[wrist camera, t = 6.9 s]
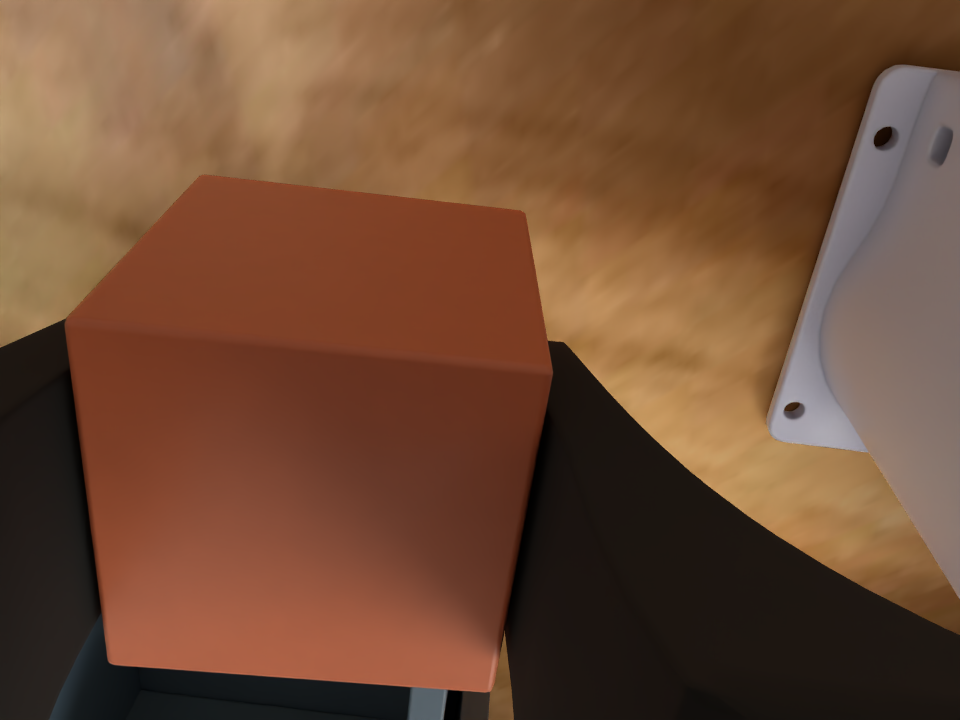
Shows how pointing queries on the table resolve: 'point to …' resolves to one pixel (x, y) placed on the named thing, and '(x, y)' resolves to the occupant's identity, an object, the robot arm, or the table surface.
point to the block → (312, 434)
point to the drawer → (226, 694)
